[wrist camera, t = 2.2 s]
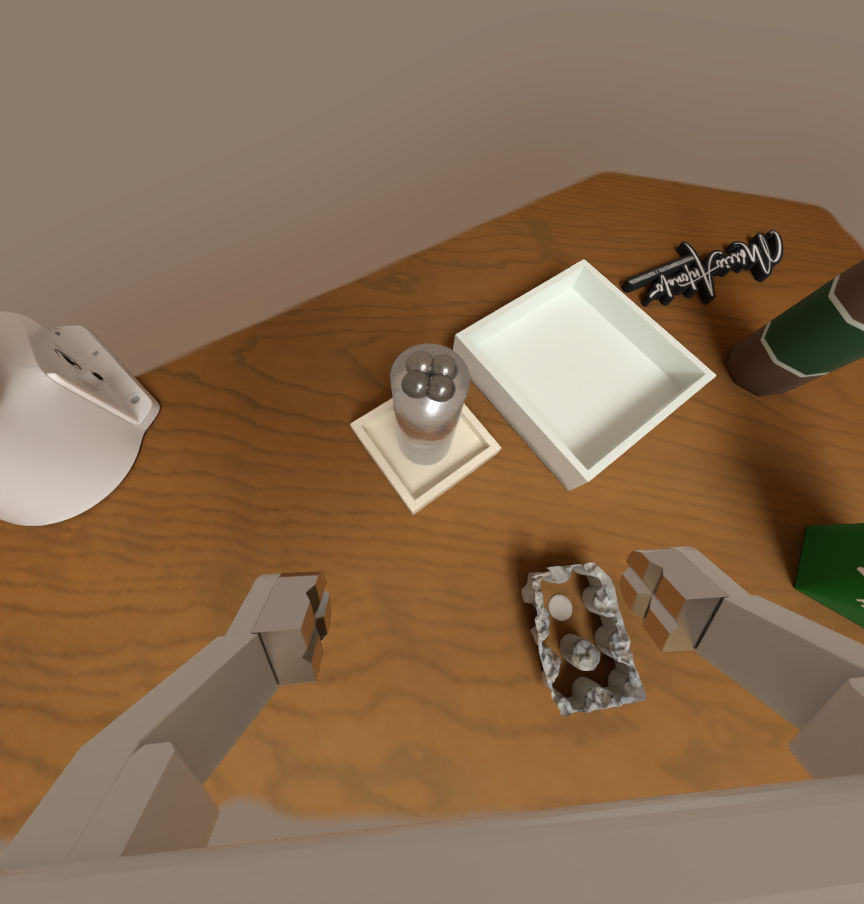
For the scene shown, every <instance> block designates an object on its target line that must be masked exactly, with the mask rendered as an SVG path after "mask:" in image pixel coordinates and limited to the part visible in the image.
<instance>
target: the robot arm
mask: <svg viewBox="0 0 864 904" xmlns="http://www.w3.org/2000/svg"><path fill="white" fill-rule="evenodd" d="M159 409H160V406H159V403H158V402H157V401H156V400H155V399H154V398H153V396H152V395H151V394H150V393H149V392H148V391H147V390H146V389H145V388H144V387H143V386H142V385H141V383H140V382H139V381H138V380H137V379H136V378H135V377H134V376H133V375H132V374H131V373H130V372H129V371H128V369H127V368H126V367H125V366H124V365H123V364H122V363H121V362H120V361H119V360H118V359H117V358H116V356H115V355H114V354H113V353H112V352H111V351H110V350H109V349H108V348H107V347H106V346H105V345H104V344H103V342H102V341H101V340H100V339H99V338H98V337H97V336H96V335H95V334H94V333H93V332H92V331H90V330H89V329H87V328H85V327H83V326H80V325H70V326H61V327H55V328H50V329H47V328H45V327H43V326H42V325H40V324H38V323H37V322H35V321H33V320H31V319H29V318H27V317H25V316H23V315H20V314H17V313H11V312H0V520H4V521H7V522H10V523H13V524H17V525H25V526H39V525H47V524H52V523H56V522H60V521H63V520H66V519H69V518H72V517H74V516H76V515H78V514H80V513H82V512H84V511H86V510H88V509H89V508H91V507H93V506H94V505H96V504H97V503H99V502H100V501H101V500H103V499H104V498H105V497H106V496H107V495H109V494H110V493H111V492H112V491H113V490H114V489H115V488H116V487H117V486H118V485H119V484H120V482H121V481H122V480H123V479H124V477H125V476H126V475H127V473H128V472H129V470H130V468H131V467H132V465H133V463H134V461H135V459H136V457H137V454H138V451H139V447H140V444H141V440H142V437H143V435H144V432H145V431H146V429H147V428H148V427H149V426H150V424H151V423H152V422H153V420H154V419H155V417H156V416H157V414H158V412H159ZM627 563H628V565H629V567H630V568H628V569H627V570H626V571H625V572H624V573H623V574H622V577H621V581H620V587H621V593H622V596H623V598H624V600H625V602H626V604H627V605H628V606H629V608H630V609H631V611H633V612H634V613H636V614H638V615H639V616H641V617H642V618H643V627H644V628H645V630H646V631H647V633H648V634H649V635H650V637H651V638H652V639H653V641H654V642H655V643H656V645H657V646H658V648H659V649H660V650H661V652H665V651H684V650H696V651H695V652H696V653H698V654H699V655H700V656H702V657H703V658H704V659H706V660H707V661H708V662H710V663H711V664H712V665H714V666H715V667H716V668H718V669H719V670H720V671H722V672H723V673H724V674H726V675H727V676H728V677H730V678H731V679H732V680H734V681H735V682H736V683H738V684H739V685H740V686H742V687H743V688H745V689H746V690H747V691H749V692H750V693H751V694H753V695H754V696H755V697H757V698H758V699H759V700H761V701H762V702H763V703H765V704H766V705H767V706H769V707H770V708H771V709H773V710H774V711H775V712H777V713H778V714H779V715H781V716H782V717H783V718H785V719H786V720H787V721H789V722H790V723H791V724H793V725H794V726H795V727H797V728H798V729H799V730H801V731H800V732H799V733H798V734H797V735H796V736H795V737H794V739H793V740H792V741H791V742H790V752H791V753H792V754H793V755H794V756H795V758H796V759H797V760H798V761H799V762H800V763H801V765H802V766H803V767H804V768H805V769H806V771H807V772H808V773H809V774H810V775H811V777H812V778H813V779H809V780H800V781H791V782H782V783H773V784H764V785H756V786H747V787H738V788H729V789H720V790H711V791H702V792H693V793H684V794H675V795H666V796H658V797H649V798H640V799H631V800H622V801H613V802H604V803H595V804H586V805H577V806H568V807H559V808H551V809H542V810H533V811H524V812H515V813H506V814H497V815H488V816H479V817H470V818H461V819H453V820H444V821H435V822H426V823H417V824H408V825H399V826H390V827H381V828H373V829H364V830H355V831H346V832H337V833H328V834H319V835H310V836H301V837H292V838H283V839H274V840H266V841H257V842H248V843H239V844H230V845H221V846H212V847H207V845H208V842H209V839H210V837H211V834H212V831H213V828H214V826H215V822H216V820H217V817H218V814H219V809H218V806H217V803H216V802H215V800H214V799H213V798H212V796H211V795H210V794H209V792H208V791H207V790H206V788H205V787H204V786H203V784H204V782H205V781H206V780H207V779H208V777H209V776H210V775H211V773H212V772H213V771H214V770H215V768H216V767H217V766H218V765H219V763H220V762H221V761H222V759H223V758H224V757H225V756H226V754H227V753H228V752H229V750H230V749H231V748H232V747H233V745H234V744H235V743H236V742H237V740H238V739H239V738H240V736H241V735H242V734H243V733H244V731H245V730H246V729H247V728H248V726H249V725H250V724H251V722H252V721H253V720H254V719H255V717H256V716H257V715H258V714H259V712H260V711H261V710H262V708H263V707H264V706H265V705H266V703H267V702H268V701H269V700H270V698H271V697H272V696H273V694H274V693H275V692H276V691H277V689H278V686H279V685H287V684H296V683H305V682H313V681H316V680H317V676H318V672H319V668H320V664H321V660H322V656H323V648H322V644H321V641H322V640H323V639H324V638H325V636H326V635H327V634H328V631H329V626H330V620H331V600H330V595H329V594H328V593H327V592H326V591H324V590H325V586H326V583H327V581H326V578H325V574H324V572H297V573H282V574H262V575H260V576H259V577H258V578H257V579H256V580H255V582H254V584H253V586H252V587H251V589H250V591H249V593H248V595H247V597H246V598H245V600H244V602H243V604H242V606H241V607H240V609H239V611H238V613H237V615H236V616H235V618H234V620H233V622H232V624H231V626H230V627H229V629H228V631H227V633H226V635H225V636H220V637H217V638H216V639H214V640H213V641H212V642H211V643H209V644H208V645H207V646H206V647H204V648H203V649H202V650H201V651H199V652H198V653H197V654H196V655H195V656H193V657H192V658H191V659H190V660H188V661H187V662H186V663H185V664H183V665H182V666H181V667H180V668H178V669H177V670H176V671H175V672H174V673H172V674H171V675H170V676H169V677H167V678H166V679H165V680H164V681H162V682H161V683H160V684H159V685H157V686H156V687H155V688H154V689H152V690H151V691H150V692H149V693H148V694H146V695H145V696H144V697H143V698H141V699H140V700H139V701H138V702H136V703H135V704H134V705H133V706H131V707H130V708H129V709H128V710H126V711H125V712H124V713H123V714H122V715H120V716H119V717H118V718H117V719H115V720H114V721H113V722H112V723H110V724H109V725H108V726H107V727H105V728H104V729H103V730H102V731H100V732H99V733H98V734H97V735H96V736H94V737H93V738H92V739H91V740H89V741H88V742H87V743H86V744H84V745H83V746H82V747H81V748H80V749H79V751H78V752H77V753H76V755H75V756H74V757H73V759H72V760H71V761H70V763H69V764H68V765H67V767H66V768H65V770H64V771H63V772H62V774H61V775H60V776H59V778H58V779H57V780H56V782H55V783H54V784H53V786H52V787H51V789H50V790H49V791H48V793H47V794H46V795H45V797H44V798H43V799H42V801H41V802H40V803H39V805H38V806H37V808H36V809H35V810H34V812H33V813H32V814H31V816H30V817H29V818H28V820H27V821H26V822H25V824H24V825H23V827H22V828H21V829H20V831H19V832H18V833H17V835H16V836H15V837H14V839H13V840H12V841H11V843H10V844H9V846H8V847H7V848H6V850H5V851H4V852H3V854H2V855H1V856H0V904H864V645H863V644H860V643H858V642H856V641H854V640H852V639H850V638H847V637H845V636H843V635H841V634H839V633H837V632H835V631H832V630H830V629H828V628H826V627H824V626H822V625H820V624H817V623H815V622H813V621H811V620H809V619H807V618H805V617H802V616H800V615H798V614H796V613H794V612H792V611H790V610H787V609H785V608H783V607H781V606H779V605H777V604H775V603H772V602H770V601H768V600H766V599H764V598H762V597H760V596H751V595H750V594H749V593H747V592H746V591H745V590H744V589H743V588H742V587H740V586H739V585H738V584H737V583H736V582H734V581H733V580H732V579H731V578H730V577H729V576H727V575H726V574H725V573H724V572H723V571H721V570H720V569H719V568H718V567H717V566H716V565H714V564H713V563H712V562H711V561H710V560H708V559H707V558H706V557H705V556H704V555H703V554H701V553H700V552H699V551H698V550H696V549H694V548H692V547H690V546H685V547H672V548H659V549H646V550H633V551H632V552H631V553H630V554H629V556H628V559H627Z"/></svg>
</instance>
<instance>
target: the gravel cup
mask: <svg viewBox="0 0 864 904" xmlns="http://www.w3.org/2000/svg"><path fill="white" fill-rule="evenodd" d="M390 381H391V388H392V396H393V403H394V410H395V417H396V425H397V432H398V439H399V446H400V449H401V451H402V453H403V455H404V456H405V457H406V458H407V459H408V460H410V461H411V462H413V463H415V464H418V465H432V464H436V463H438V462H440V461H441V460H442V459H444V458H445V457H446V455H447V454H448V452H449V450H450V447H451V444H452V441H453V438H454V434H455V431H456V428H457V424H458V421H459V418H460V415H461V411H462V408H463V405H464V401H465V398H466V395H467V392H468V388H469V384H470V374H469V370H468V367H467V365H466V363H465V362H464V360H463V359H462V358H461V357H460V356H459V355H458V354H457V353H456V352H454V351H453V350H451V349H449V348H447V347H445V346H442V345H438V344H420V345H416V346H413V347H411V348H409V349H407V350H405V351H404V352H403V353H401V354H400V355H399V356H398V358H397V359H396V360H395V362H394V364H393V366H392V369H391V373H390Z"/></svg>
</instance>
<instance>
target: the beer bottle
mask: <svg viewBox="0 0 864 904" xmlns="http://www.w3.org/2000/svg"><path fill="white" fill-rule="evenodd" d="M862 357H864V260H863V261H861V262H859V263H858V264H856V265H854V266H853V267H851V268H849V269H848V270H846V271H844V272H843V273H841V274H840V275H838V276H837V277H835V278H834V279H832V280H831V281H829V282H828V283H826V284H825V285H823V286H822V287H820V288H819V289H817V290H816V291H814V292H813V293H812V294H810V295H809V296H807V297H806V298H804V299H803V300H801V301H800V302H798V303H797V304H795V305H794V306H792V307H791V308H789V309H788V310H786V311H785V312H784V313H782V314H781V315H779V316H778V317H776V318H775V319H773V320H772V321H770V322H769V323H767V324H766V325H764V326H763V327H761V328H760V329H758V330H757V331H756V332H754V333H753V334H751V335H750V336H748V337H747V338H745V339H744V340H743V341H741V342H740V343H739V344H737V345H736V346H735V347H734V348H733V350H732V352H731V354H730V356H729V359H728V361H727V363H726V366H727V368H728V370H729V372H730V374H731V376H732V377H733V379H734V381H735V383H736V384H737V385H739V386H741V387H743V388H744V389H746V390H748V391H750V392H752V393H753V394H755V395H757V396H763V395H771V394H778V393H784V392H786V391H789V390H791V389H794V388H796V387H799V386H801V385H803V384H805V383H808V382H810V381H812V380H814V379H816V378H819V377H821V376H823V375H825V374H827V373H829V372H832V371H834V370H836V369H838V368H840V367H843V366H845V365H847V364H849V363H851V362H853V361H856V360H858V359H860V358H862Z"/></svg>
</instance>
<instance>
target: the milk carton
mask: <svg viewBox="0 0 864 904" xmlns="http://www.w3.org/2000/svg"><path fill="white" fill-rule="evenodd" d="M795 589H797V590H799V591H800V592H802V593H804V594H805V595H807V596H809V597H811V598H812V599H814V600H816V601H818V602H819V603H821V604H823V605H825V606H826V607H828V608H830V609H832V610H833V611H835V612H837V613H838V614H840V615H842V616H844V617H845V618H847V619H849V620H851V621H852V622H854V623H856V624H858V625H859V626H861V627H863V628H864V523H856V524H836V525H816V526H807V528H806V533H805V538H804V543H803V548H802V553H801V558H800V563H799V568H798V574H797V579H796V584H795Z"/></svg>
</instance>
